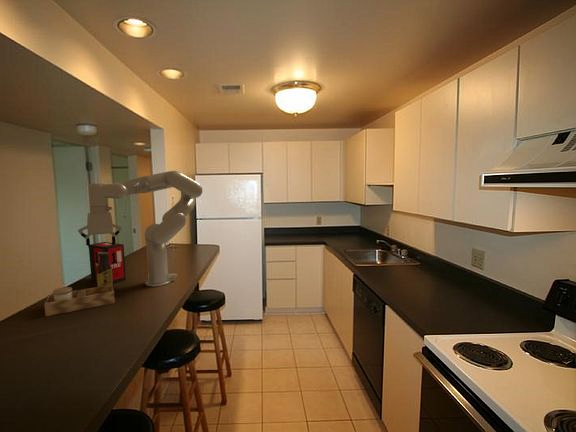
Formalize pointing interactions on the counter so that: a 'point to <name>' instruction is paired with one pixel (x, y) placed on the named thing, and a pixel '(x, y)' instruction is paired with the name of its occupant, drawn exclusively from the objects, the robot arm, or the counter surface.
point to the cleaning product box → (114, 259)
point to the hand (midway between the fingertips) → (101, 245)
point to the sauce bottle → (104, 270)
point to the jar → (62, 293)
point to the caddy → (80, 300)
